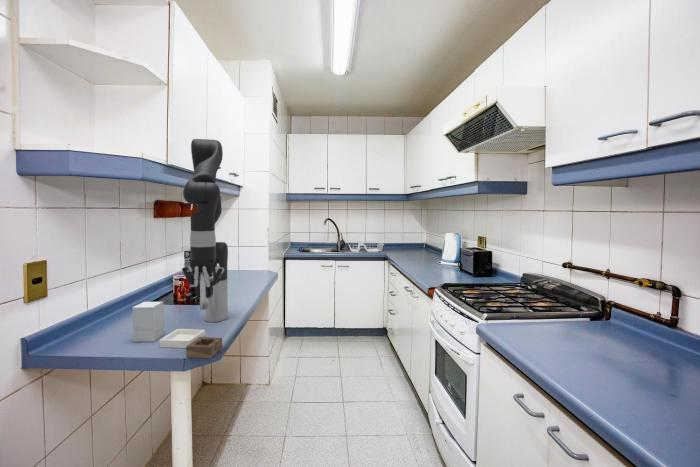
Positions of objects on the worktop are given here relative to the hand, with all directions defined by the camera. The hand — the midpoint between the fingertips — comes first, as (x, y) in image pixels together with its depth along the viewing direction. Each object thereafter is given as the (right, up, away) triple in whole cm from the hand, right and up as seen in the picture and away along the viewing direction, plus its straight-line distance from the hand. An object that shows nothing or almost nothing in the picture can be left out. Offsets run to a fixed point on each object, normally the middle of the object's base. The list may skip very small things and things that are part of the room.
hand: (204, 297), depth 106 cm
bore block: (0, -18, +1) cm, 18 cm away
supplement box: (-26, -18, +13) cm, 34 cm away
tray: (-12, -18, +10) cm, 23 cm away
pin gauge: (0, -4, 0) cm, 4 cm away
